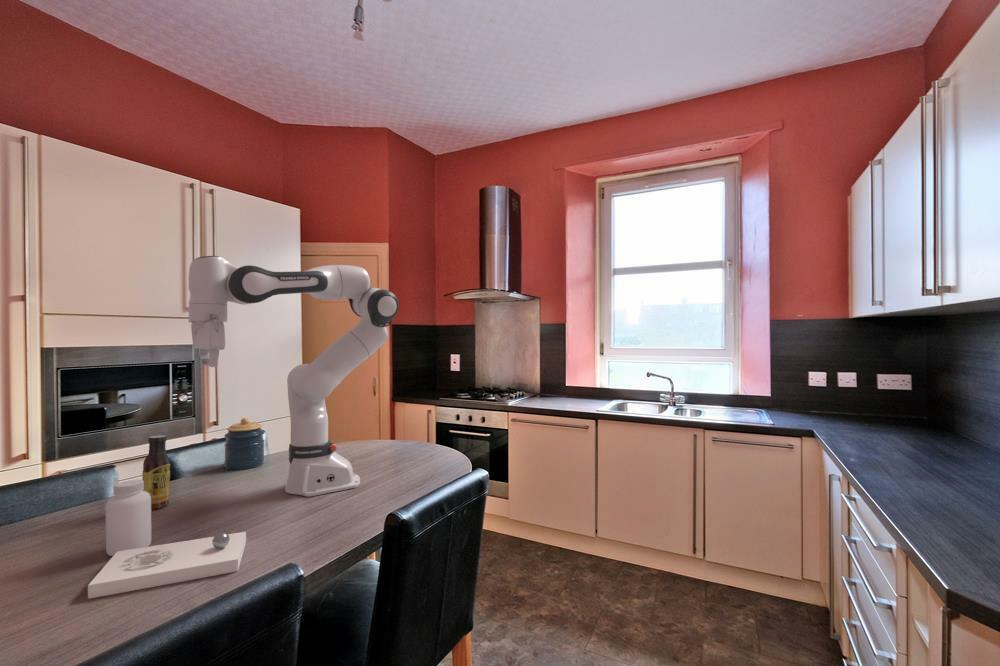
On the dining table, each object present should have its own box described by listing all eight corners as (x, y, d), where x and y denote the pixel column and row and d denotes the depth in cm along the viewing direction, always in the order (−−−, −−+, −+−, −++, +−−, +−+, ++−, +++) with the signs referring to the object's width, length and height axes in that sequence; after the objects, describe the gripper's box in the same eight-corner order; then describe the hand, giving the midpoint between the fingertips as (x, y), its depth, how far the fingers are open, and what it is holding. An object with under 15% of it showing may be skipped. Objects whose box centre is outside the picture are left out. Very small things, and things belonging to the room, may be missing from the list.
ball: (230, 543, 99) (230, 528, 99) (228, 549, 96) (228, 534, 96) (213, 546, 98) (213, 531, 98) (210, 552, 95) (210, 537, 95)
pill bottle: (123, 541, 105) (123, 477, 105) (159, 540, 106) (159, 476, 106) (95, 558, 97) (95, 489, 97) (135, 556, 98) (135, 488, 98)
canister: (234, 460, 173) (234, 415, 173) (270, 459, 174) (270, 414, 174) (217, 471, 160) (217, 421, 160) (255, 469, 161) (255, 420, 161)
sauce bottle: (154, 512, 123) (154, 439, 123) (135, 510, 124) (135, 438, 124) (175, 503, 129) (175, 434, 129) (157, 501, 130) (157, 433, 130)
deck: (246, 542, 105) (246, 531, 105) (237, 571, 92) (237, 559, 92) (117, 563, 95) (117, 551, 95) (87, 598, 82) (87, 585, 82)
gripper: (231, 314, 117) (232, 367, 117) (213, 316, 131) (213, 363, 131) (203, 313, 112) (203, 368, 112) (187, 316, 127) (187, 365, 127)
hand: (208, 366), depth 122 cm, fingers open, 8 cm apart
